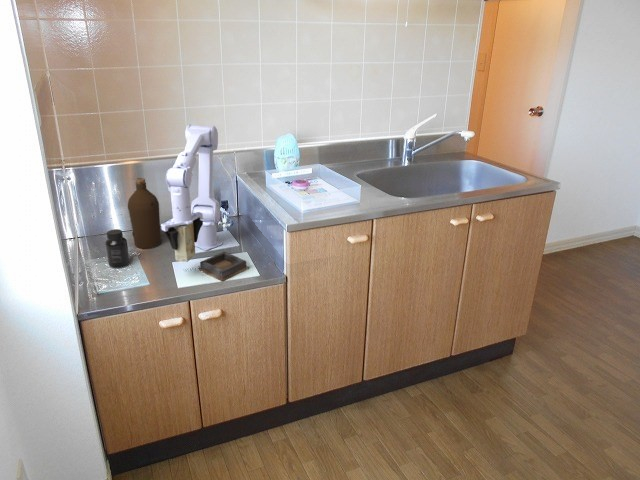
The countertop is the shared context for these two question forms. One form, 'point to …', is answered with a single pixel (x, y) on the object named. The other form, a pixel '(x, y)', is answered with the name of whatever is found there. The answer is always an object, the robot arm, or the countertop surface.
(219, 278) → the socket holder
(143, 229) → the olive oil
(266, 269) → the countertop surface
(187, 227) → the skincare box
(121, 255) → the supplement bottle
